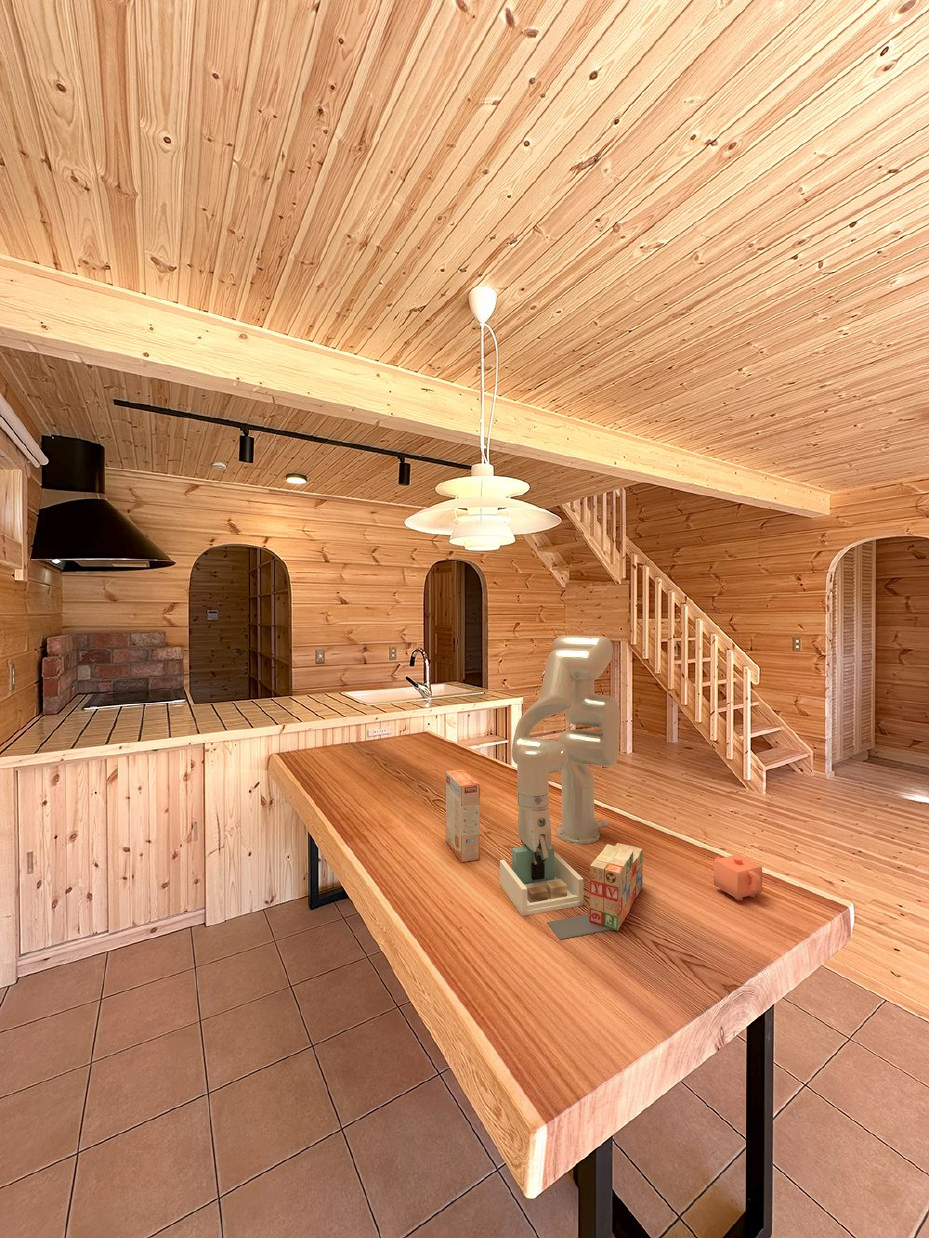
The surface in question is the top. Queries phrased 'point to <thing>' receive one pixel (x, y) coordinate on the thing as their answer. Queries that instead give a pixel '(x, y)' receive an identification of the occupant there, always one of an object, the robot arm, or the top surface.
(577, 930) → the charcoal mat
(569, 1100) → the top surface
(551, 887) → the pine offcut
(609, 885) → the stack of blocks
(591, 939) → the top surface
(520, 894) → the rack
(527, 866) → the teal panel
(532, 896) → the walnut offcut
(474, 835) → the cracker box
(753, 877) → the pink cube teapot
